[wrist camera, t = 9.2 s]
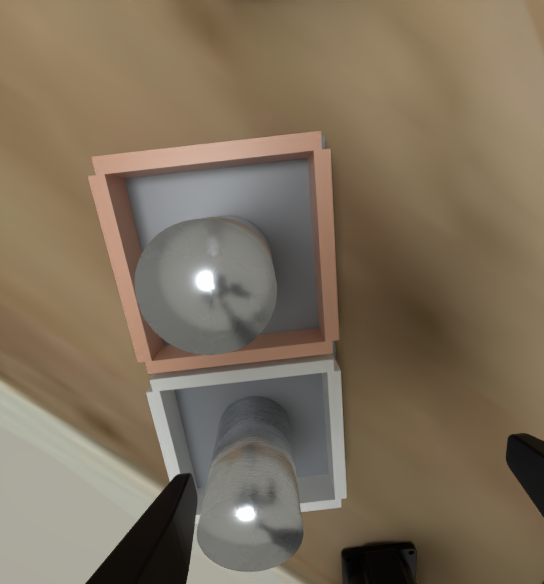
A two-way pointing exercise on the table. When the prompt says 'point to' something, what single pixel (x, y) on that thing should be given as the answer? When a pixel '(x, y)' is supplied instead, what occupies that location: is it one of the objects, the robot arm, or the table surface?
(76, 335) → the table surface
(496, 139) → the table surface
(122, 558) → the robot arm
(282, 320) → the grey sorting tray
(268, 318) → the steel billet
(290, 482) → the billet
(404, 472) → the table surface
